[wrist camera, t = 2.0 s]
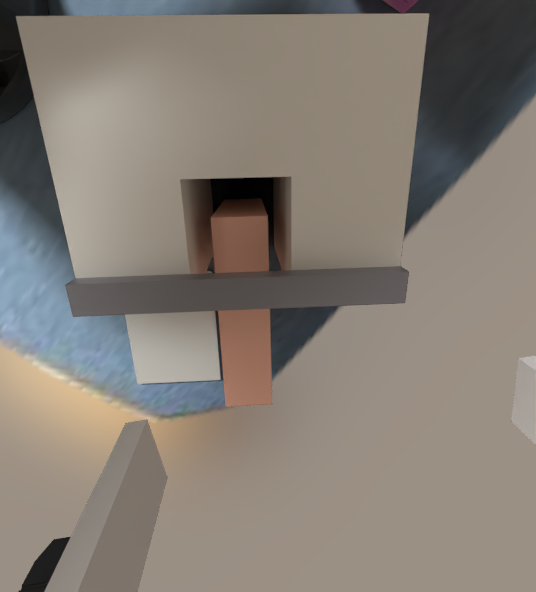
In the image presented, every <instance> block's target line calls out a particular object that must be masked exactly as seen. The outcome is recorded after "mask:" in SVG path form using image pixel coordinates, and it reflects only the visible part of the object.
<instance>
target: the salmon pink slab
mask: <svg viewBox="0 0 536 592" xmlns="http://www.w3.org/2000/svg"><path fill="white" fill-rule="evenodd" d="M211 229H212V241H213V254H214V266H215V273H230V272H257V271H269V245H268V215H267V213H266V210H265V207H264V205H263V202H262V199H261V198H256V199H224V201H223V202H222V203H221V205H220V206H219V207H218V209H217V210H216V211H215V213H214V214H213V215H212V217H211ZM218 316H219V329H220V341H221V354H222V366H223V379H224V391H225V404H226V407H229V406H248V405H267V404H272V377H271V333H270V309H250V310H226V311H218Z"/></svg>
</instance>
